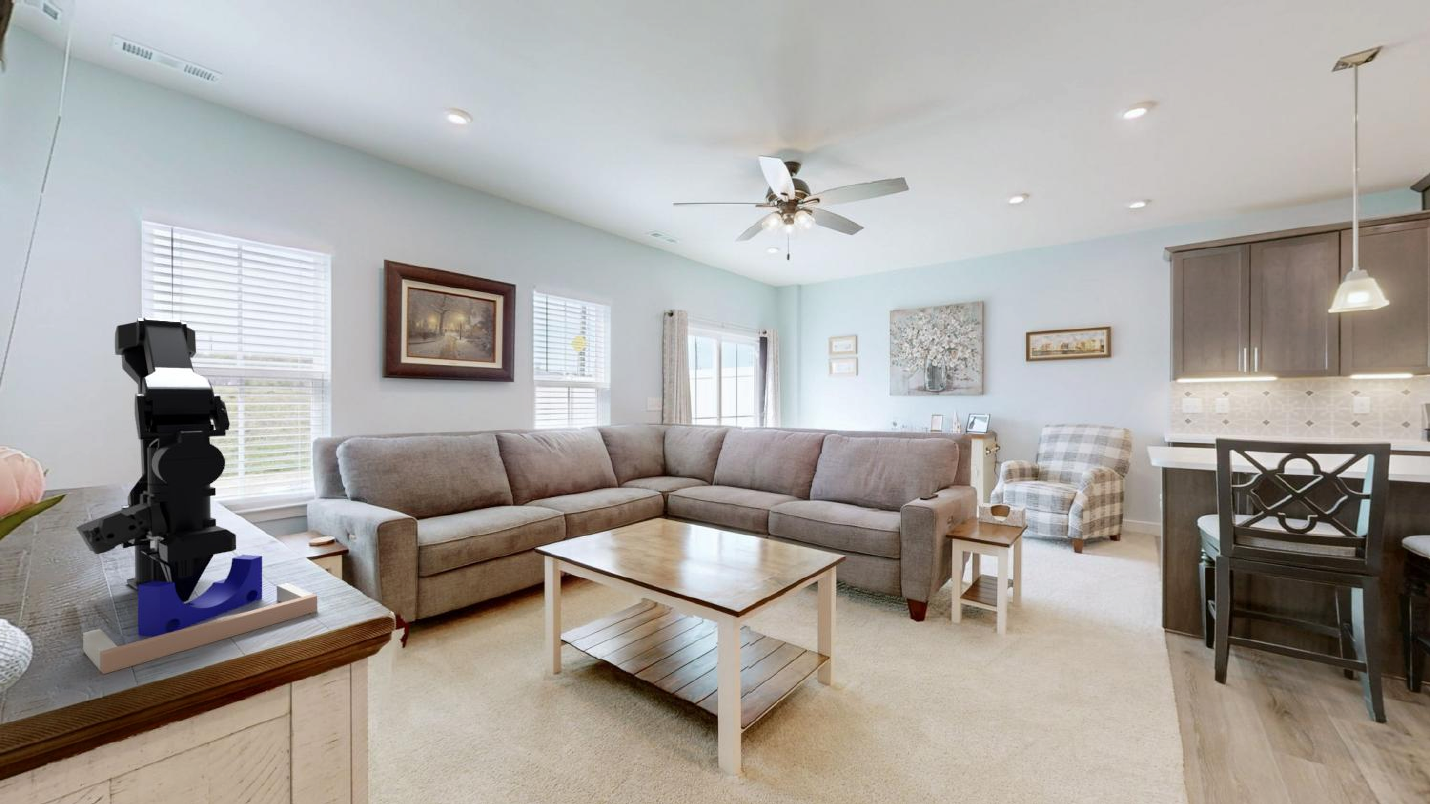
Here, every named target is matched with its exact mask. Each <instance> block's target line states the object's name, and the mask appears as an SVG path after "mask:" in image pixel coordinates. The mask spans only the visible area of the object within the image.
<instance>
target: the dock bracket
mask: <svg viewBox="0 0 1430 804" xmlns="http://www.w3.org/2000/svg"><path fill="white" fill-rule="evenodd" d="M276 601H278V603H275V604H272V605H271V604H270V605H267V606H264V607H259V608H256V609H253V610H252V609H251V610H248V611H245V612H241V613H237V614H233V615H231V616H226V617H223V618H219V619H215V620H212V621H208V622H204V623H200V624H195V625H191V626H189V627H186V628H183V629H181V630H178V631H174V632H170V633H166V634H163V635H159V636H155V637H149V638H144V639H142V640H136V641H133V642H130V643H126V644H122V645H119V646H118V645H117V644H115V642H114V641H113V640H112V639H111V638H110V637H109V636H108V635H107V634H106V633H104V631H102V630H101V629H100V628H97V629H93V630H90V631H85V632H83V633H82V639H83V640H82V641H83V644H82V645H83V647H82V648H83V649H82V651H83V652H84V654H85V655H86V656H87V657H88V658H89V660H90V661H91V662H92V663H93V664H94V666H95V667H97V668H98V670H99V671H100V672H101V673H102V674H103V675H106V674H109V673H112V672H115V671H119V670H122V669H126V668H130V667H133V666H136V665H139V664H143V663H147V662H151V661H153V660H157V659H160V658H164V657H167V656H170V655H174V654H177V653H180V652H184V651H187V650H191V649H194V648H197V647H201V646H204V645H209V644H211V643H214V642H217V641H221V640H225V639H228V638H231V637H235V636H238V635H242V634H245V633H249V632H251V631H255V630H258V629H261V628H265V627H269V626H272V625H276V624H278V623H281V622H286V621H289V620H293V619H296V618H299V617H302V616H306V615H310V614H312V613H316V612H318V595H316V594H314V593H312V592H310V591H307V590H305V589H303V588H300V587H298V586H296V585H293V584H291V583H289V582H286V583H281V584H277V585H276ZM279 602H280V603H279ZM309 613H310V614H309Z"/></svg>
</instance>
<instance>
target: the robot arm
mask: <svg viewBox="0 0 1430 804" xmlns="http://www.w3.org/2000/svg"><path fill="white" fill-rule="evenodd" d="M196 343H197V339H196V331H195V330H194V329H191V328H189V327H188V325H187V322H185V321H181V320H180V319H169V318H156V317H155V318H154V317H144V318H137V319H136V321H134V322H130V323H129V322H128V323H124V324H118V325H117V326H116V329H115V332H114V350H115V352H114V353H115V355H116V356H121V366H122V370H123V371H124V372H125V373H126V374H127V375H128V376H129V377H130V378H131V379H132V380H133V381H134V382H135V383H136V384H137V392H138V393H135V394H134V418H135V419H134V421H135V426H136V430H137V431H136V433H137V439H138V440H140V459H141V462H140V463H141V477H140V478H139V479H138V481H137V482H136V483H135V484H134V486H133V487H132V489H131V490H130V491H129V493H128V494H127V495H128V496H127V505H121V509H120V510H117V511H115V512H112V513H109V514H106V515H104V516H101V517H99V518H96V519H94V520H90V521H88V522H85V523H82V524H80V525H78V526H77V527H76V531H77V532H78V533H79V535H80V536H81V538H82V540H83V542H84V543H85V545H86V546H87V548H88V550H89V551H90V552H93V553H94V555H100V554H104V553H107V552H109V551H112V550H114V549H115V548H116V547H118V546H119V545H120V546H121V548H122V549H128V548H132V547H134V577H132V578H127V579H126V584H128V585H129V586H131V587H133V588H134V589H135V590H137V591H138V585H141V584H144V583H148V582H151V581H162V582H175V589H176V593H177V595H178V597H179V598H180V599H181V601H182V602H184V603H187V602H189V600H190V597H191V596H192V594H193V593H194V590H195V588H196V586H197V584H198V583H199V581H200V579H201V577H202V575H203V574H204V572H205V570H206V569H207V567H208V565H209V563H210V562H211V560H212V559H213V557H214V556H215V555H218V554H224V553H229V552H230V553H231V552H233V551H236V550H237V535H236V533H233V532H232V531H230V530H229V529H227V528H225V527H222V526H218V525H217V519H216V518H215V517H214V518H213V517H212V516H211V515H212V514H211V497H214V496H215V497H216V495H217V493H216V492H217V491H216V487H214V486H211V484H213V483H214V482H215V481H217V480H218V479H219V478H220V477H221V475H223V472H224V470H225V467H226V458H225V456H224V454H223V453H222V451H221V450H220V449H219V447H217V446H216V445H213V444H211V437H226V434H227V432H226V431H229V429H230V419H229V416H228V412H227V411H228V410H227V406H226V403H225V401H223V400H222V398H221V395H220V394H219V393H214V392H215V391H214V389H213V386H212V384H211V382H210V380H209V378H206V377H204V376H202V375H200V374H197V373H196V372H195V370H194V368H193V362H192V360H191V359H193V358H194V357H195V356H196V354H197V344H196ZM212 422H213V424H212Z"/></svg>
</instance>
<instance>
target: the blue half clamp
mask: <svg viewBox="0 0 1430 804" xmlns="http://www.w3.org/2000/svg"><path fill="white" fill-rule="evenodd" d="M262 599H263V556H262V555H251V554H249V555H248V554H241V555H238V556H234V557H232V558H231V565H230V569H229V572H228V574H227V576H226V578H224V579H223V578H222V579H221V580H217V581H213V582H212V584H211V585H210V586H209V587H208V588H207V589H206V590H205V591H204V592H203V593H201V594H200V595H199V596H197V597H196V598H194V599H192V600H190V601H186V602H182V601H181V599H180V598H179V597H178V595H177V593H176V589H175V582H162V581H151V582H148V583H144V584H141V585H138V590H137V608H138V609H137V614H138V615H137V636H138V637H149V638H152V637H155V636H159V635H163V634H166V633H170V632H174V631H178V630H181V629H185V628H189V627H192V626H195V625H198V624H199V623H202V622H204V621H207V620H210V619H212V618H215V617H217V616H220V615H223V614H225V613H227V612H231V611H233V610H236V609H238V608H241V607H244V606H246V605H249V604H251V603H254V602H257V601H259V600H262Z"/></svg>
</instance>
